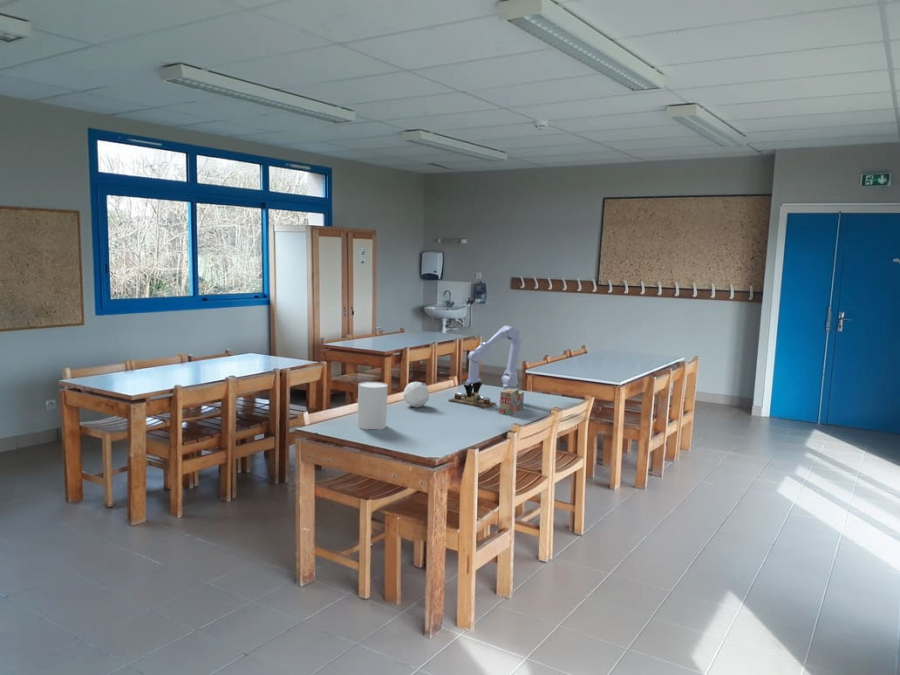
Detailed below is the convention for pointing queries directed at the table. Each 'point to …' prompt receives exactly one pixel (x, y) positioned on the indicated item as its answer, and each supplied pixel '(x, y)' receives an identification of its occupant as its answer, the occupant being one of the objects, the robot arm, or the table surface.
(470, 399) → the wooden block
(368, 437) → the table surface
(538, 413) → the table surface
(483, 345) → the robot arm
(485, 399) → the shafts
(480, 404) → the shaft bench
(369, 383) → the canister
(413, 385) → the geodesic sphere
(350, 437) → the table surface
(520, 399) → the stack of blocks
